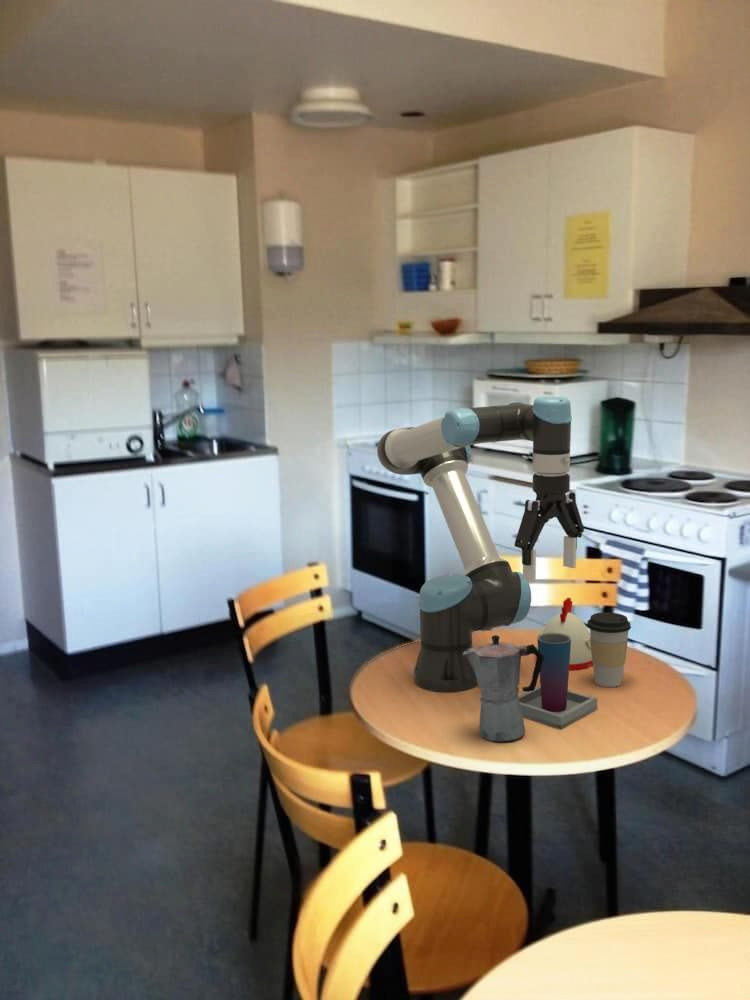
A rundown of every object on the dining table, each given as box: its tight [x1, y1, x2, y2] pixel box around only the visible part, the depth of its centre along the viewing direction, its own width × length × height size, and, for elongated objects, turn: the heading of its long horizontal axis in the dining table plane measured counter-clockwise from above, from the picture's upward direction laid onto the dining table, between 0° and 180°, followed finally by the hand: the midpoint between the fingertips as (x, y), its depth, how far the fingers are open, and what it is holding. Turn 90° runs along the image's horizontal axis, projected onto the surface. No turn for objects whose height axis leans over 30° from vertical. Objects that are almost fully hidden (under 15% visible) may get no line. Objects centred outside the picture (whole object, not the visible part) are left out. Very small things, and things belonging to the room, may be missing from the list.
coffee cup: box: [586, 611, 632, 688], centre depth 207 cm, size 9×9×15 cm
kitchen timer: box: [535, 597, 593, 672], centre depth 221 cm, size 14×14×15 cm
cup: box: [536, 633, 571, 712], centre depth 192 cm, size 7×7×15 cm
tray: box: [518, 685, 598, 730], centre depth 193 cm, size 13×13×2 cm
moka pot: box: [463, 634, 544, 743], centre depth 182 cm, size 10×15×20 cm, turn 88°
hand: (549, 573), depth 195 cm, fingers open, 13 cm apart
